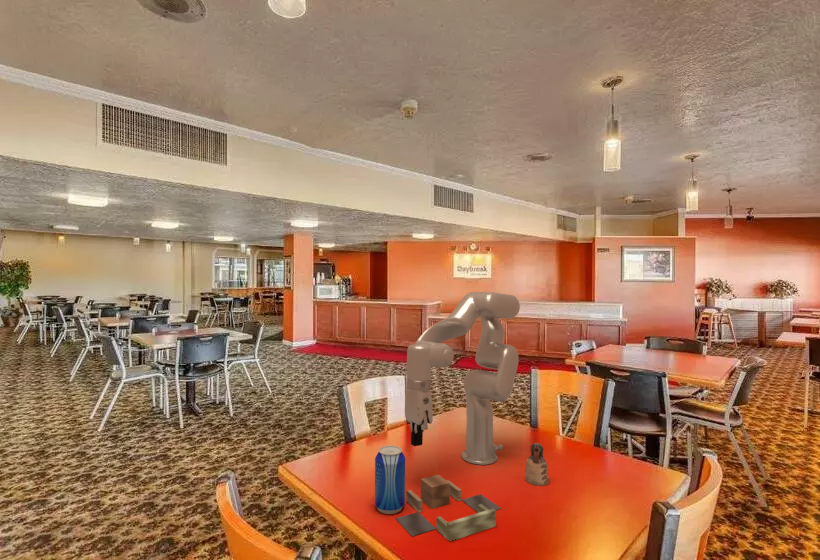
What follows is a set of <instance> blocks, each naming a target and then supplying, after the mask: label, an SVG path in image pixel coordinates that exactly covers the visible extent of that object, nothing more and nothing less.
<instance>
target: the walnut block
mask: <svg viewBox="0 0 820 560" xmlns="http://www.w3.org/2000/svg"><path fill="white" fill-rule="evenodd" d="M450 497H451V495H450V483H449V482H448V481H447V479H445V478H443V476H441V475H440V474H435V475H432V476H427V477H423V478H420V499H421V500H422V503H424V504H425V505H427V507H429V508H430V509H431V510H433V508H434V509H436V508H440V507H444V506H447V505H450Z"/></svg>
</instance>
